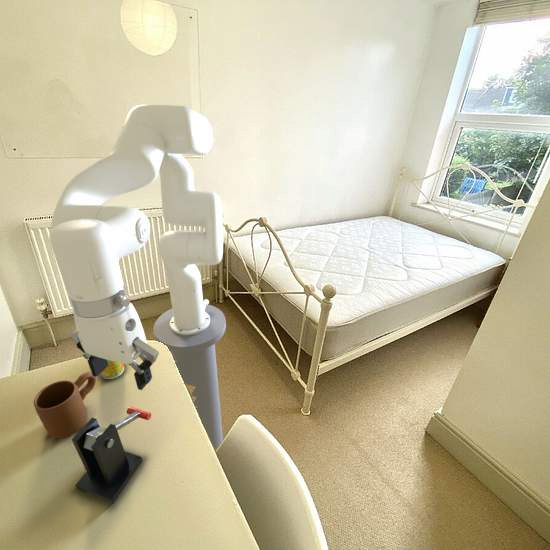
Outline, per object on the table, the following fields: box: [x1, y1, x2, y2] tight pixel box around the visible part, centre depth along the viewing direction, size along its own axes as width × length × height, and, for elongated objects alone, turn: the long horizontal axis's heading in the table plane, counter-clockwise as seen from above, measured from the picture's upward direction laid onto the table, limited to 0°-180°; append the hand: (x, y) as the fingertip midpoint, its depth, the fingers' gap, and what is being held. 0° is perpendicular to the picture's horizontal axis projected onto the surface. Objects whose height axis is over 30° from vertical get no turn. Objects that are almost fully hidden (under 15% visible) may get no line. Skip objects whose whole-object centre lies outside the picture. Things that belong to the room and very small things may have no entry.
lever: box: [84, 406, 152, 451], centre depth 58 cm, size 13×5×2 cm, turn 163°
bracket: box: [71, 417, 143, 505], centre depth 55 cm, size 8×8×13 cm
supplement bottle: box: [100, 360, 125, 380], centre depth 78 cm, size 5×5×10 cm
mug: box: [33, 371, 97, 439], centre depth 67 cm, size 12×8×9 cm, turn 153°
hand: (122, 377), depth 56 cm, fingers open, 9 cm apart
